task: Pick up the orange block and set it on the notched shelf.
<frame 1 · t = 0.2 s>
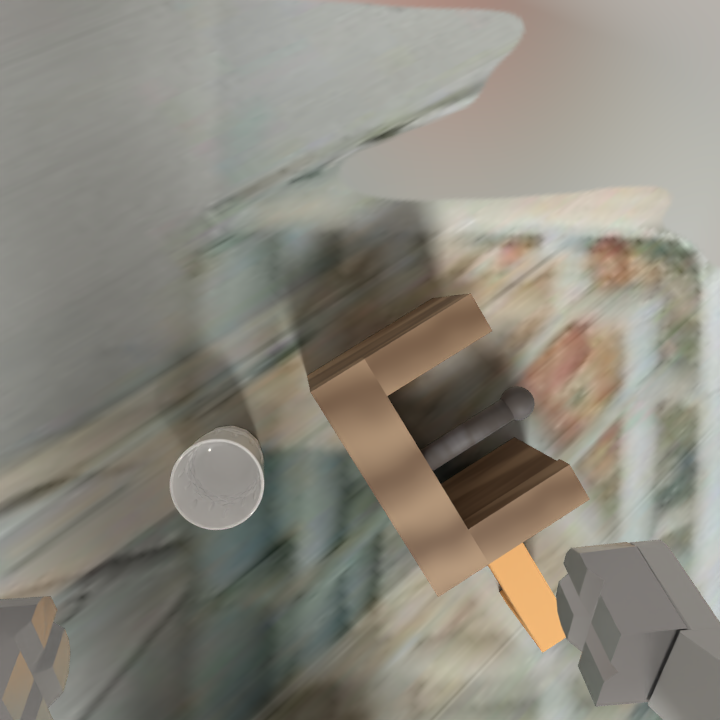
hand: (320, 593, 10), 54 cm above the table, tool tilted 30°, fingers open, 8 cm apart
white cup: (229, 457, 64), on the table
orange block: (497, 556, 67), on the table
notched shelf: (420, 419, 65), on the table
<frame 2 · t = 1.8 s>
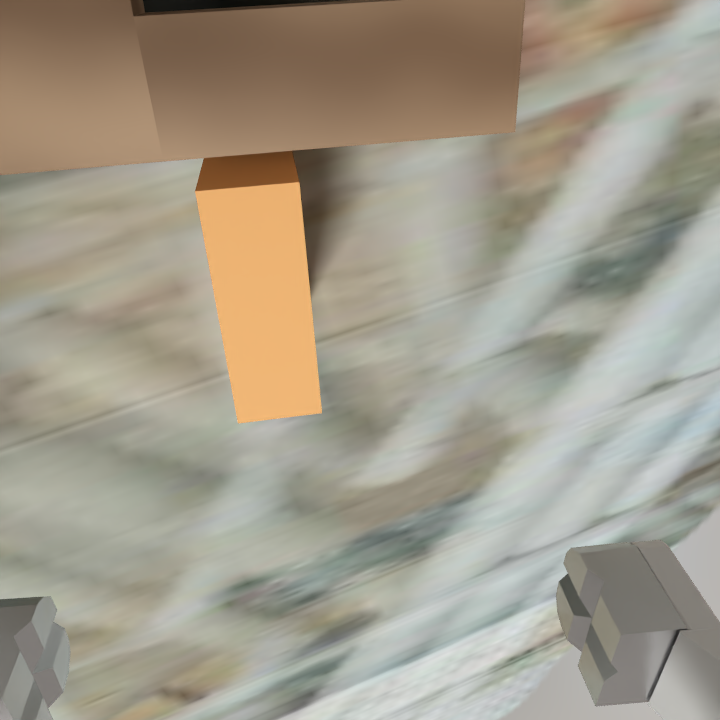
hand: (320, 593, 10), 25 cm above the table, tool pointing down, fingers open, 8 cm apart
orange block: (262, 228, 33), on the table
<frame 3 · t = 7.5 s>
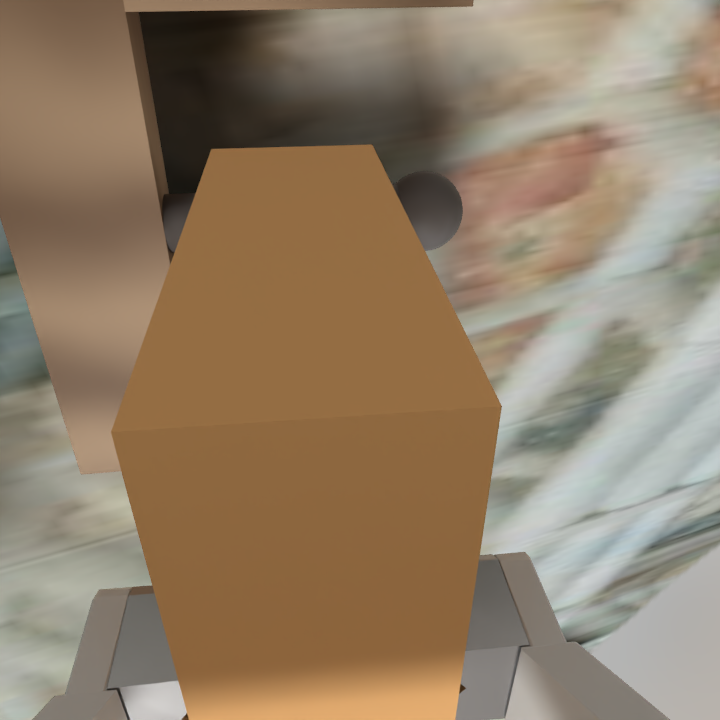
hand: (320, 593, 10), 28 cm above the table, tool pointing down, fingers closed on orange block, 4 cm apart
orange block: (303, 338, 17), point 20 cm above the table, touching gripper
notched shelf: (250, 138, 33), on the table
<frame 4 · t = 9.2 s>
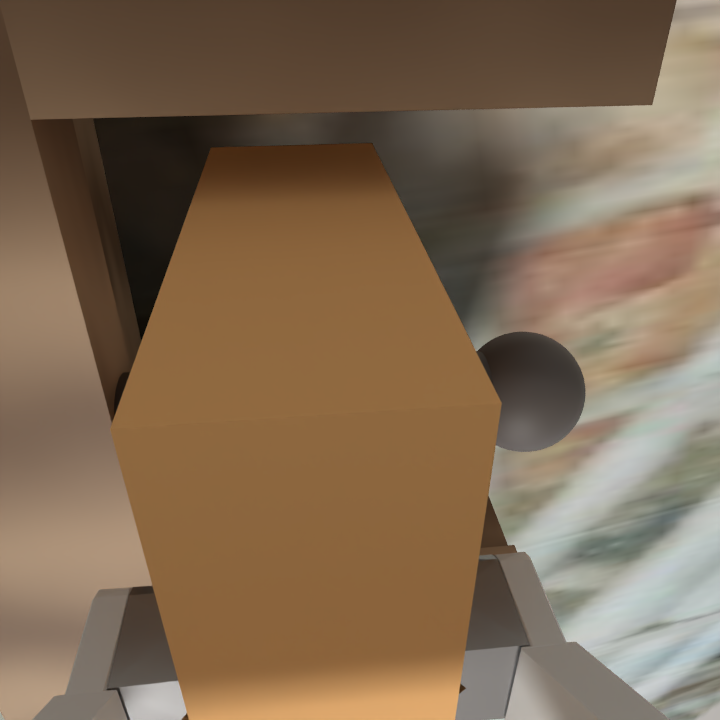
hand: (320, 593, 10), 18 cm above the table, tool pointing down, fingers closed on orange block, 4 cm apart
orange block: (303, 337, 17), point 10 cm above the table, touching gripper
notched shelf: (257, 213, 25), on the table
when the fingers open (15 cm above the table, at t = 10.5 s): orange block stays where it is, resting on notched shelf.
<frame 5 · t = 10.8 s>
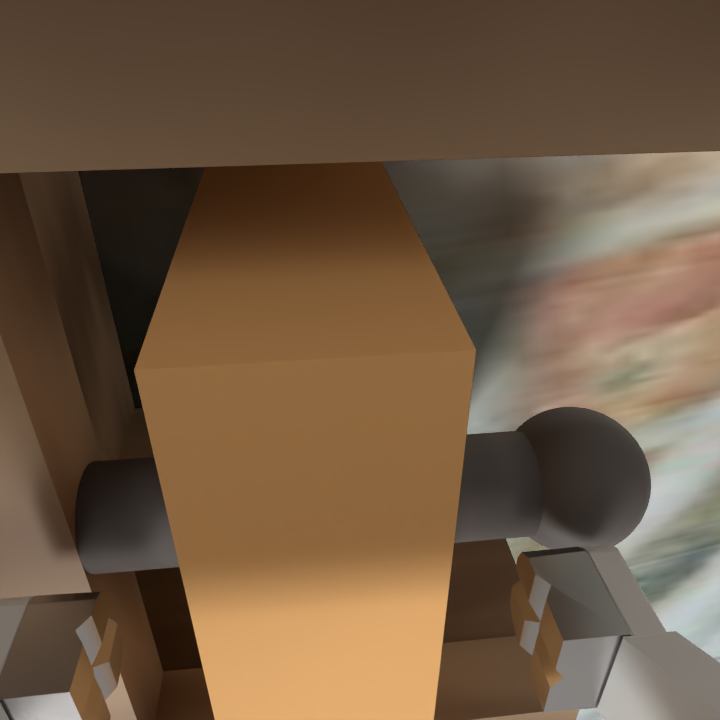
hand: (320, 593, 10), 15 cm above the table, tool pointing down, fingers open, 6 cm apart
orange block: (302, 319, 18), point 6 cm above the table, touching notched shelf
notched shelf: (255, 241, 23), on the table
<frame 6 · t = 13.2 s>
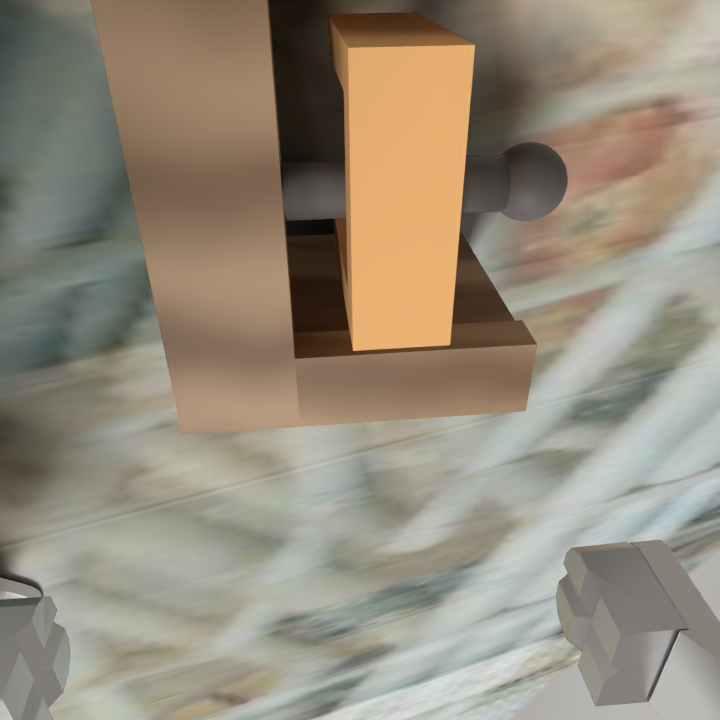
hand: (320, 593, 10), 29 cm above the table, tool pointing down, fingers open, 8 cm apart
orange block: (371, 138, 29), point 6 cm above the table, touching notched shelf
notched shelf: (330, 110, 34), on the table
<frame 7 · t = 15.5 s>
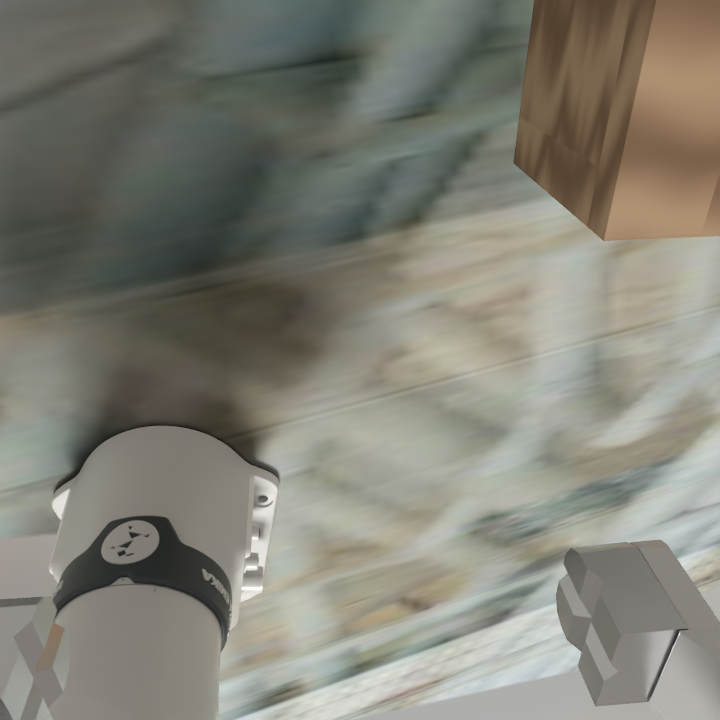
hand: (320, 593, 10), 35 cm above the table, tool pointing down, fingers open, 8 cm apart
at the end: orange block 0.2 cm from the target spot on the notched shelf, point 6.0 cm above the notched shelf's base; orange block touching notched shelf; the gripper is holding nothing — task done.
